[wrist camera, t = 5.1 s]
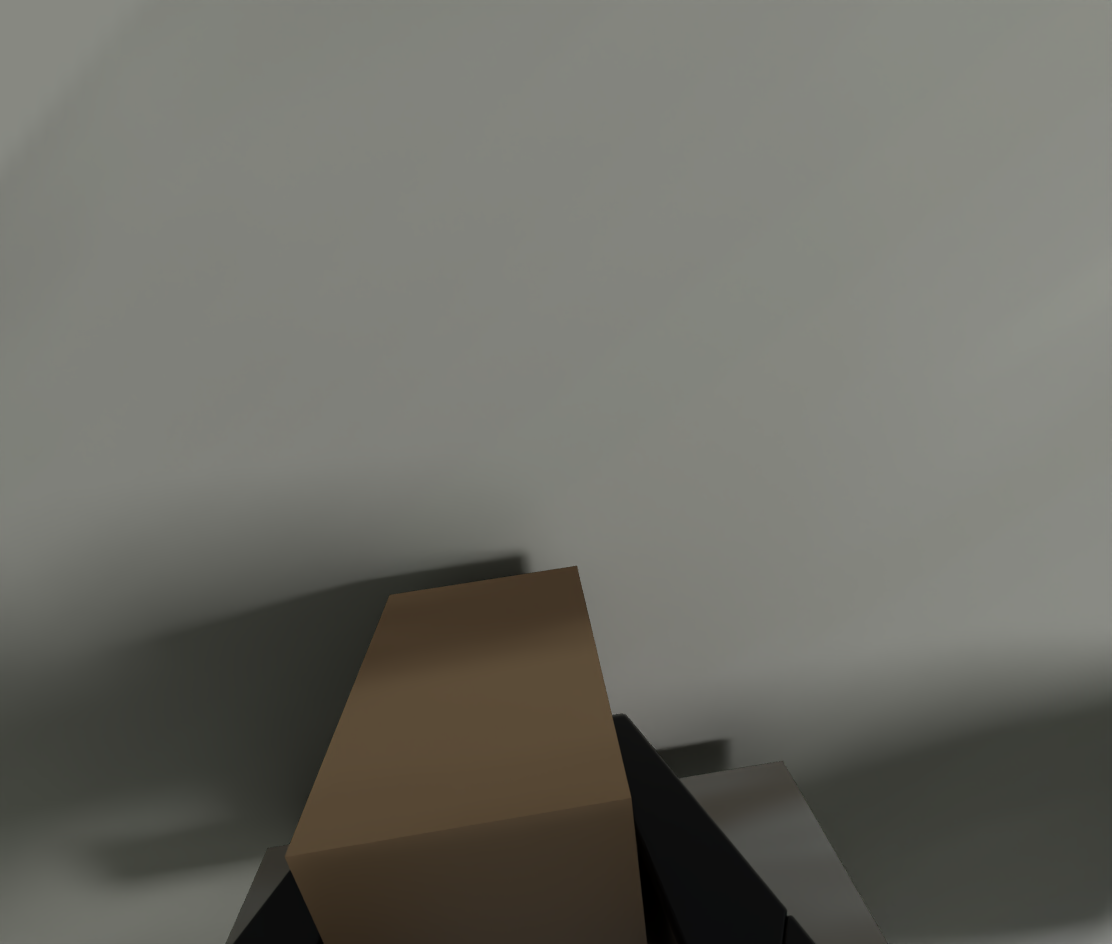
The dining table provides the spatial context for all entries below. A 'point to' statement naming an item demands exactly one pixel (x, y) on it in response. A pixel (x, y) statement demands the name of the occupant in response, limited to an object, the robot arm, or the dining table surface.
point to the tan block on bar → (513, 790)
